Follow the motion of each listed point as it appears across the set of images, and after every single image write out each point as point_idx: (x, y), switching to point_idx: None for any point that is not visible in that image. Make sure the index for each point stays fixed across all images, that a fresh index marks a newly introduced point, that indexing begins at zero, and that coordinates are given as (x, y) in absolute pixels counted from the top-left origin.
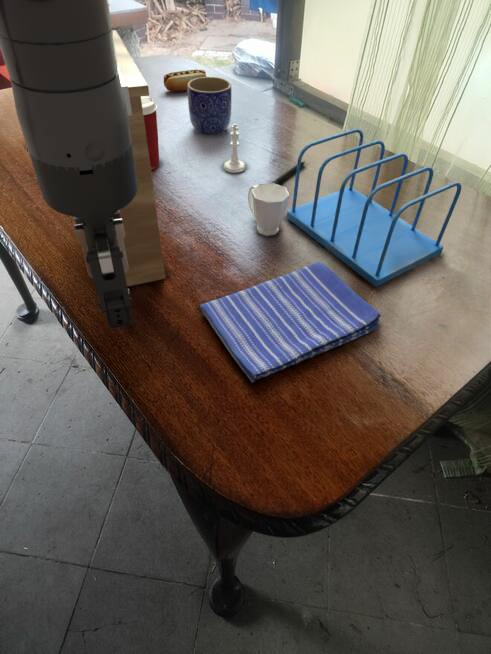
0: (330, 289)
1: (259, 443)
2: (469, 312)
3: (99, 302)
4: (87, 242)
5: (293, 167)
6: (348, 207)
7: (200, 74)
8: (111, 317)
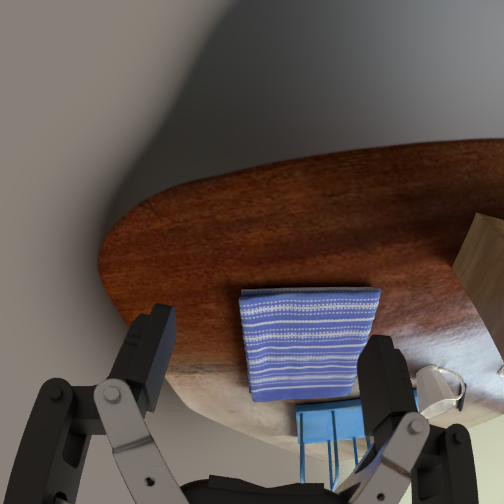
0: (311, 388)
1: (165, 263)
2: (236, 424)
3: (32, 412)
4: None
5: (462, 405)
6: None
7: None
8: (121, 346)
